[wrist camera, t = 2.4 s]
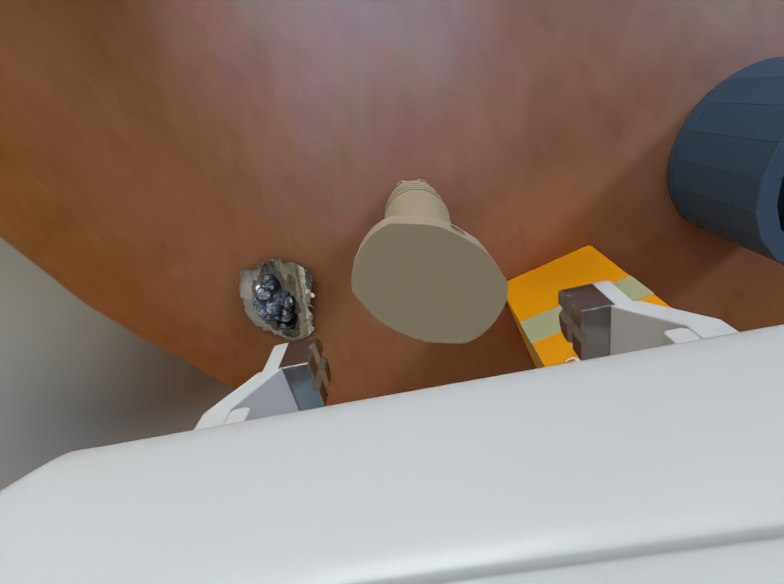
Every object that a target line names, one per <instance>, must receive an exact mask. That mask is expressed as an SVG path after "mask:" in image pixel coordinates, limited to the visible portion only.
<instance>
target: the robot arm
mask: <svg viewBox="0 0 784 584" xmlns="http://www.w3.org/2000/svg"><path fill="white" fill-rule="evenodd" d="M558 303H559V304H560V306H561V307H562V308H563V309H562V311H561V312H560V314H559V323H560V327H561V331H562V334H563V336H564V338H565V339H566V340H567V342H570V343H572V344H573V350H574V352H575V353H576V354H577V356H578V357H579V358H580V360H581V361H576V362H571V363H565V364H560V365H554V366H549V367H543V368H538V369H532V370H526V371H521V372H515V373H510V374H504V375H499V376H493V377H487V378H482V379H476V380H471V381H465V382H460V383H454V384H448V385H443V386H437V387H432V388H426V389H420V390H415V391H409V392H404V393H398V394H392V395H387V396H381V397H376V398H370V399H364V400H359V401H353V402H348V403H342V404H336V405H331V406H325V405H326V400H327V396H328V393H327V390H326V388H327V387H328V386H329V385H330V381H331V373H330V367H329V363H328V360H327V358H325V357H324V356H322V351H323V346H322V344H321V341H320V340H319V339H318V338H313V339H307V340H301V341H296V342H291V343H284V344H280V345H276V346H274V348H273V350H272V353H271V355H270V357H269V359H268V361H267V363H266V365H265V368H264V370H263V372H260V373H257V374H256V375H255V376H253V377H252V378H251V379H249V380H248V381H247V382H245V383H244V384H243V385H241V386H240V387H239V388H237V389H236V390H235V391H233V392H232V393H231V394H229V395H228V396H227V397H225V398H224V399H223V400H221V401H220V402H219V403H217V404H216V405H215V406H213V407H212V408H211V409H209V410H208V411H207V412H205V413H204V414H203V416H202V417H201V419H200V420H199V422H198V424H197V426H196V428H195V429H194V430H192V431H186V432H181V433H175V434H170V435H164V436H158V437H153V438H148V439H142V440H136V441H130V442H125V443H119V444H114V445H109V446H103V447H96V448H90V449H84V450H78V451H73V452H69V453H66V454H64V455H62V456H60V457H57V458H55V459H54V460H52V461H50V462H48V463H46V464H45V465H43V466H41V467H39V468H37V469H36V470H34V471H32V472H31V473H29V474H27V475H26V476H24V477H22V478H21V479H19V480H17V481H16V482H14V483H13V484H11V485H9V486H7V487H6V488H4V489H3V490H2V491H0V584H784V324H782V325H777V326H771V327H766V328H760V329H755V330H749V331H743V332H738V331H737V330H735V329H734V328H732V327H731V326H730V325H728V324H727V323H725V322H724V321H722V320H720V319H716V318H712V317H707V316H703V315H699V314H694V313H690V312H686V311H682V310H677V309H673V308H669V307H664V306H660V305H656V304H651V303H647V302H643V301H632V300H631V299H630V298H629V297H628V296H626V295H625V294H624V293H623V292H622V291H620V290H619V289H618V288H617V287H616V286H614V285H613V284H612V283H611V282H610V281H607V280H604V281H600V282H596V283H591V284H587V285H582V286H577V287H573V288H568V289H564V290H560V291H559V293H558Z"/></svg>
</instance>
